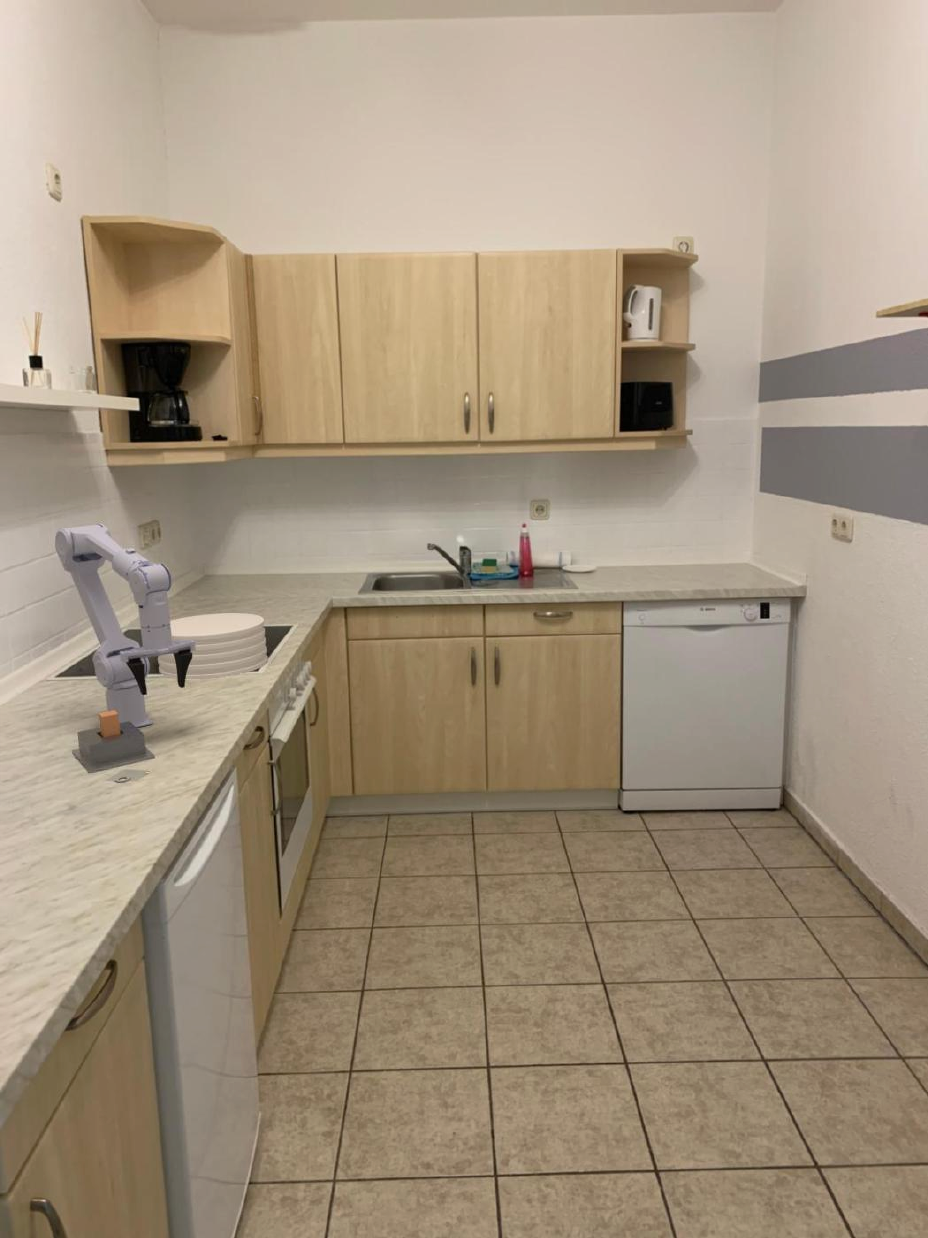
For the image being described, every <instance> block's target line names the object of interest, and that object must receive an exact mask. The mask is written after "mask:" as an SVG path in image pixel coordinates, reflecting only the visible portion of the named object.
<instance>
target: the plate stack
mask: <svg viewBox="0 0 928 1238" xmlns="http://www.w3.org/2000/svg"><path fill="white" fill-rule="evenodd" d="M170 625H171V634H172V642H176V641H186V640H193V641H195V648H196V650H194V651H190V652H191V653H192V659H191V662H190V664H189V667H188V670H187V674H186V679H200V680H212V679H211V678H214V679H221V678H220V677H222V678H227V677H226V676H229V677H232V676H231V675H234V676H237V675H236V674H239V675H241V674H240V673H243V674H246V673H250V672H254V671H256V670H258V669H260V668H262V667H263V666H266V664H267V663H268V662H269V661H268V655H267V653H268V650H267V649H268V648H267V645H266V644H267V637H266V627H264V626H265V619H264V617H263V616H261V615H257V614H254V613H243V612H241V613H240V612H225V613H223V612H220V613H208V614H197V615H193V616H191V615H190V616H185V617H181V618H176V619H172V620H170ZM157 661H158V662H157V663H158V665H159V666H158V670H159V671H158V672H159V674H160V673H161V674H163V675H165V676H169V677H173V678H172V679H174V678H177V669H176V663H175V658H174V654H173V653H172V654H166V655H161V656H157ZM161 674H160V675H161ZM163 675H162V676H163ZM165 676H164V677H165ZM169 677H168V678H169Z"/></svg>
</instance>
